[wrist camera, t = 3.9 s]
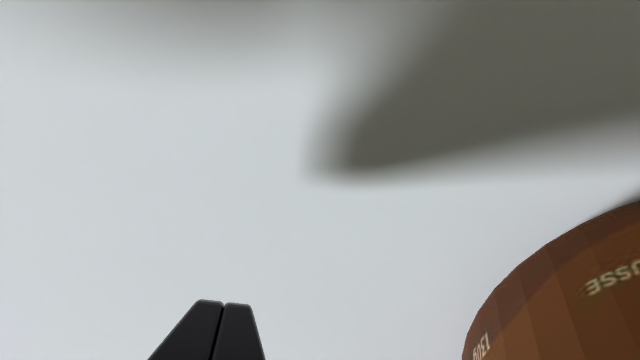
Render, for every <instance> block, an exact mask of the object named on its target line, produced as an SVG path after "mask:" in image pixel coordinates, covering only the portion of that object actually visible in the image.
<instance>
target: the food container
mask: <svg viewBox="0 0 640 360" xmlns="http://www.w3.org/2000/svg"><path fill="white" fill-rule="evenodd" d="M462 360H640V201H639V202H636V203H633V204H630V205H626V206H623V207H620V208H617V209H615V210H613V211H610V212H608V213H606V214H604V215H601V216H599V217H597V218H594V219H592V220H590V221H587V222H585V223H583V224H581V225H579V226H577V227H575V228H574V229H572V230H570V231H568V232H567V233H565V234H563V235H561V236H560V237H558V238H556V239H555V240H553V241H551V242H549V243H548V244H546V245H545V246H543V247H542V248H541V249H539V250H538V251H537V252H535V253H534V254H533V255H531V256H530V257H529V258H527V259H526V260H525V261H523V262H522V263H521V264H519V265H518V266H517V267H516V268H515V269H514V270H513V271H512V272H511V273H510V274H509V275H508V276H507V277H506V278H505V279H504V280H503V281H502V282H501V283H500V284H499V285H498V286H497V287H496V288H495V289H494V290H493V292H492V293H491V294H490V296H489V297H488V299H487V300H486V301H485V303H484V304H483V305H482V307H481V308H480V310H479V311H478V313H477V315H476V317H475V319H474V321H473V323H472V325H471V327H470V329H469V331H468V333H467V337H466V341H465V345H464V349H463V354H462Z"/></svg>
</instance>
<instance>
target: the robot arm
mask: <svg viewBox="0 0 640 360" xmlns="http://www.w3.org/2000/svg"><path fill="white" fill-rule="evenodd" d="M148 360H266V359H265V356H264V352H263V348H262V344H261V341H260V337H259V333H258V330H257V326H256V322H255V318H254V315H253V311H252V308H251V307H250V306H249V305H247V304H239V303H230V302H229V303H226V304H225V306H224V304H223V303H222V302H220V301H212V300H204V299H202V300H198V301H197V302H196V303H195V304H194V305H193V306H192V307H191V308H190V309H189V311H188V312H187V313H186V314H185V315H184V317H183V318H182V319H181V320H180V321H179V323H178V324H177V325H176V326H175V327H174V329H173V330H172V331H171V332H170V333H169V334H168V336H167V337H166V338H165V339H164V340H163V342H162V343H161V344H160V345H159V346H158V348H157V349H156V350H155V351H154V352H153V354H152V355H151V356H150V357H149V358H148Z"/></svg>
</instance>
